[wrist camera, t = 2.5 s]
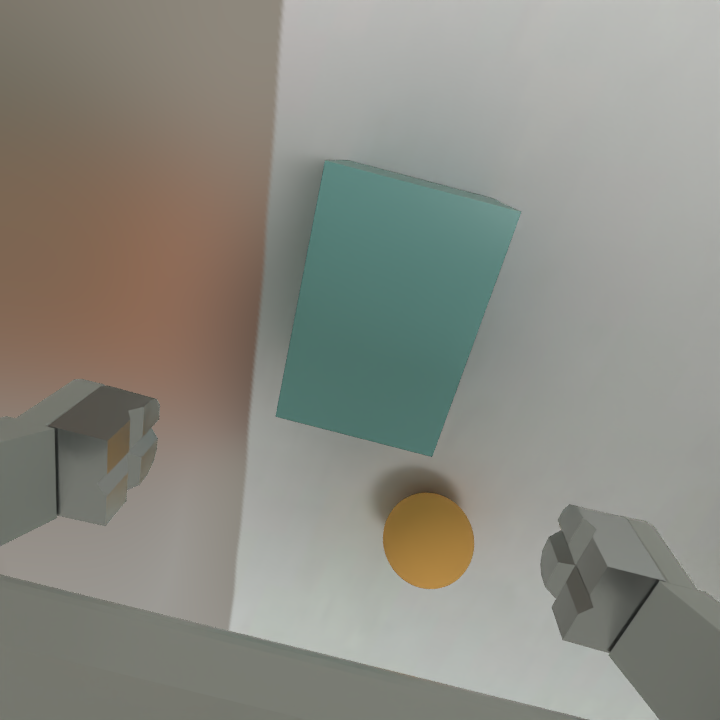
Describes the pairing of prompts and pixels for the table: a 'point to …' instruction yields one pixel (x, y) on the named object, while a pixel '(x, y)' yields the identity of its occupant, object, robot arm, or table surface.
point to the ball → (428, 540)
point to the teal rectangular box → (390, 304)
